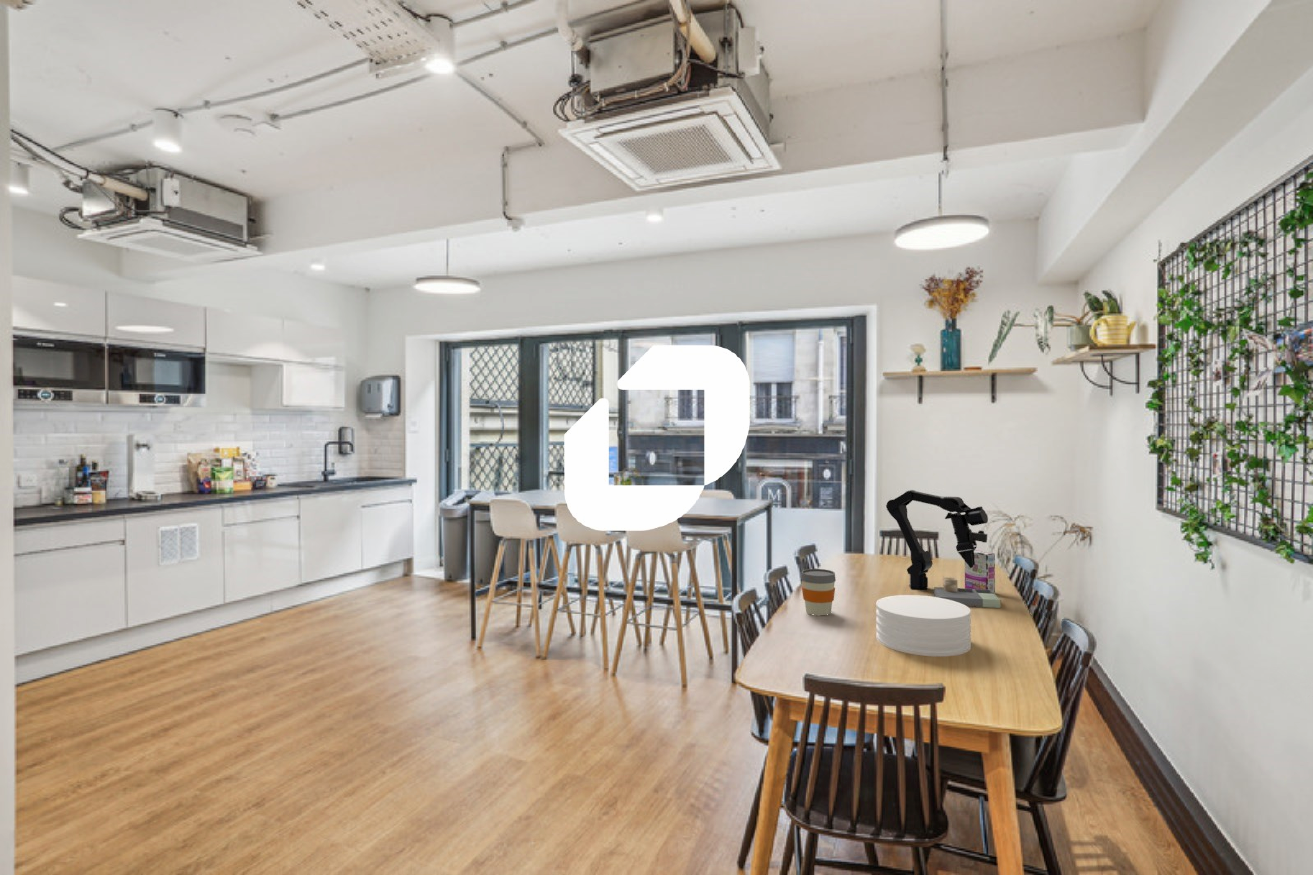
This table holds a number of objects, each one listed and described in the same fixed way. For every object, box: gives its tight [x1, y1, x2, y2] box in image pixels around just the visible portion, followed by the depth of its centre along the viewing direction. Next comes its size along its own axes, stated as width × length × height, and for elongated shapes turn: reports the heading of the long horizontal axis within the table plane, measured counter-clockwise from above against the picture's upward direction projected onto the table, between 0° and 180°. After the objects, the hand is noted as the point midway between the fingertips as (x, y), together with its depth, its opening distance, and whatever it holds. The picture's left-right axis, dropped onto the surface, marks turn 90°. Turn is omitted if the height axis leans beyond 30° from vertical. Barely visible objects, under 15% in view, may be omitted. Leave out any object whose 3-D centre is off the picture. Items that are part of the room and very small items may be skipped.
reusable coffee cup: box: [800, 568, 836, 616], centre depth 244 cm, size 13×13×15 cm
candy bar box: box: [964, 549, 996, 594], centre depth 272 cm, size 11×5×16 cm, turn 25°
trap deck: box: [933, 586, 1001, 609], centre depth 257 cm, size 21×16×3 cm
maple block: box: [942, 576, 958, 592], centre depth 262 cm, size 4×4×4 cm
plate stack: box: [875, 594, 972, 657], centre depth 210 cm, size 28×28×12 cm
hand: (972, 566), depth 262 cm, fingers open, 9 cm apart
